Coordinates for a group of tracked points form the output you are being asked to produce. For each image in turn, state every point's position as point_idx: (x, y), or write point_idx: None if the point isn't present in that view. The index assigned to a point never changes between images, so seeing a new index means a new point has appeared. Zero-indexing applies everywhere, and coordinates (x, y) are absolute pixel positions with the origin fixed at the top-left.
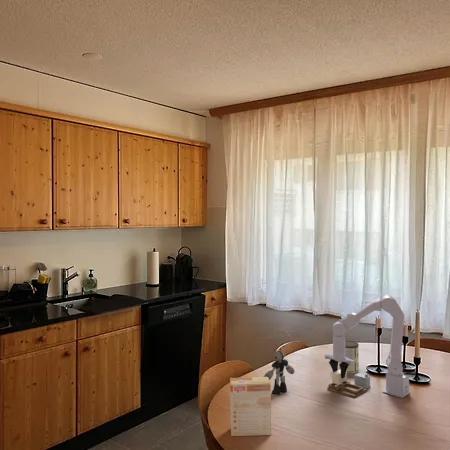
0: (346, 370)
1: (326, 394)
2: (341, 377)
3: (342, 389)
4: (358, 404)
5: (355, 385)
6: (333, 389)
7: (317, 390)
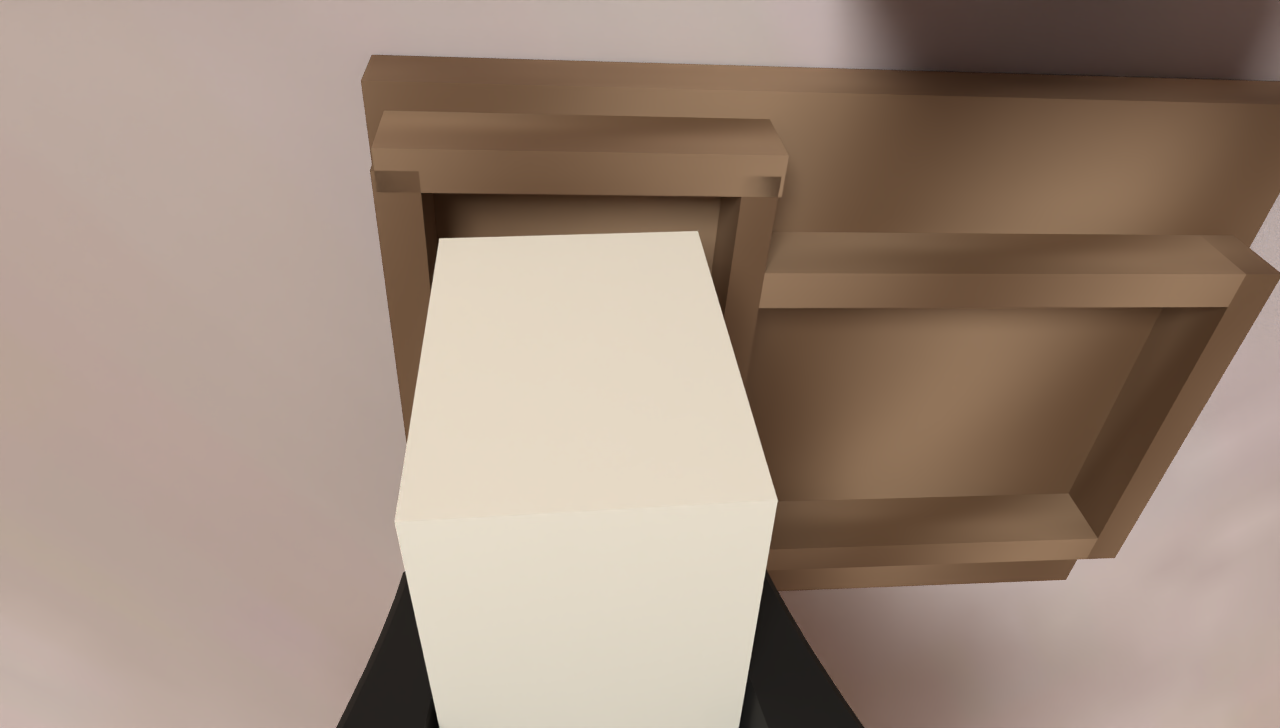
0: (766, 534)
1: None
2: None
3: None
4: (1153, 654)
5: (1028, 297)
6: None
7: (337, 682)
